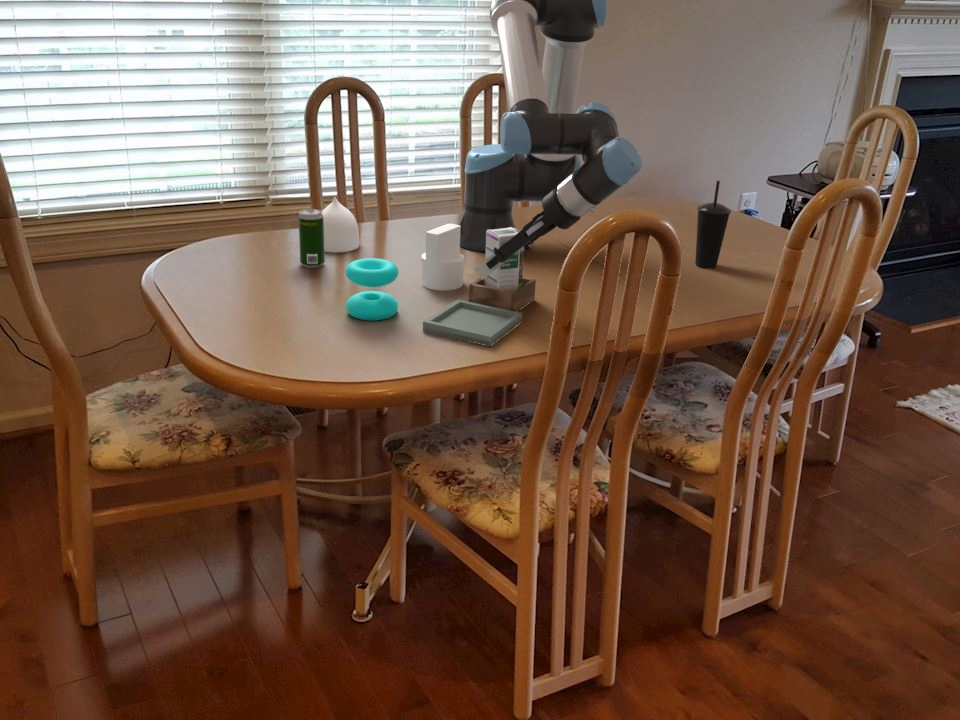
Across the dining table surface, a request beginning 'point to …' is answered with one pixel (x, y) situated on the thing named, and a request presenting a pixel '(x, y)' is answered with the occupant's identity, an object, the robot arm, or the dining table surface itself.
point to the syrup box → (509, 271)
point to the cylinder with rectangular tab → (442, 259)
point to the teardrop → (339, 229)
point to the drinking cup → (710, 231)
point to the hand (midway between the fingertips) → (488, 268)
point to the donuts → (372, 302)
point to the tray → (472, 322)
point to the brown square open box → (502, 295)
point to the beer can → (311, 238)
